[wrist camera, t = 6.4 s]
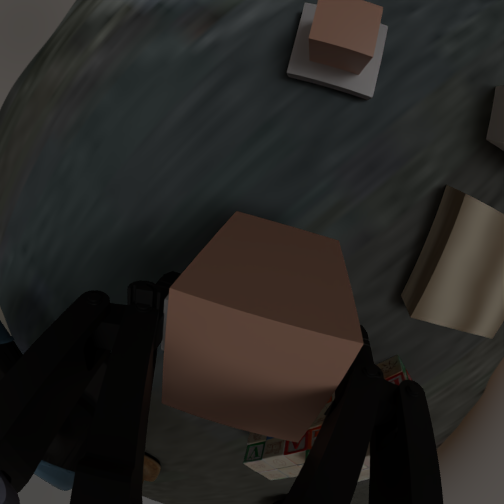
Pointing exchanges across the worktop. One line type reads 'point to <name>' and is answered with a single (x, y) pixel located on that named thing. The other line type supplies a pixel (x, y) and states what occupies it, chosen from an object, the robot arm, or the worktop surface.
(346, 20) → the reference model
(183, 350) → the terracotta block
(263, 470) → the stack of blocks
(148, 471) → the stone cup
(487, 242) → the birch base block
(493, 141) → the off-white block
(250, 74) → the worktop surface
